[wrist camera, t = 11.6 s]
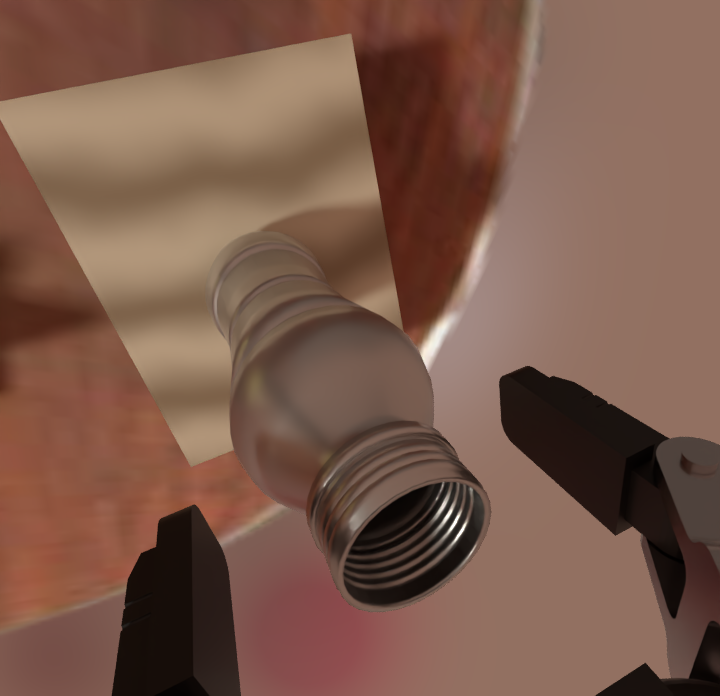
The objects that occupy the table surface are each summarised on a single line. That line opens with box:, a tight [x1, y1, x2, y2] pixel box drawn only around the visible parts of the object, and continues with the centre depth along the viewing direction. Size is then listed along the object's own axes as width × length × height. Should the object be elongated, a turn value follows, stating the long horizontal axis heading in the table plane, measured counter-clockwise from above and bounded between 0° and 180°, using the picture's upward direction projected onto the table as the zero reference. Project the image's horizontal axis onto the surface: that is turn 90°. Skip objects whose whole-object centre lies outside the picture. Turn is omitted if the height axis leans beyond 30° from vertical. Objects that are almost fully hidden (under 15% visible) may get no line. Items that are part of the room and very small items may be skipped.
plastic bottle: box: [205, 231, 491, 612], centre depth 17 cm, size 6×7×20 cm
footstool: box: [0, 34, 404, 467], centre depth 29 cm, size 22×17×8 cm
